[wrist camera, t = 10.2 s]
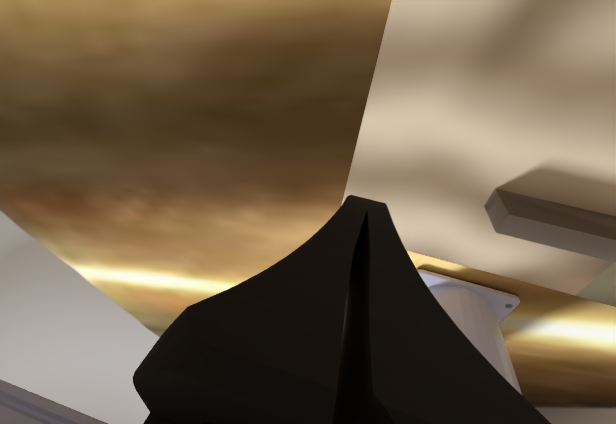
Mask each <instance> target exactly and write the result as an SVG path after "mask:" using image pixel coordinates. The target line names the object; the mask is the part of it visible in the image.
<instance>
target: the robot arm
mask: <svg viewBox="0 0 616 424" xmlns="http://www.w3.org/2000/svg"><path fill="white" fill-rule="evenodd" d="M519 303H520V300H519V298H518V297H517V296H516V295H513V294H509V293H505V292H502V291H498V290H495V289H491V288H487V287H484V286H480V285H477V284H473V283H469V282H466V281H462V280H459V279H455V278H451V277H448V276H444V275H441V274H437V273H433V272H430V271H426V270H422V269H418V270H417V269H416V268H415V266H414V264H413V262H412V261H411V259H410V257H409V255H408V253H407V251H406V249H405V247H404V245H403V243H402V241H401V239H400V237H399V235H398V232H397V230H396V228H395V225H394V223H393V220H392V218H391V215H390V212H389V209H388V207H387V205H386V203H382V202H378V201H374V200H370V199H366V198H362V197H358V196H354V195H349V196H347V197H346V199H345V201H344V203H343V204H342V206H341V207H340V208H339V209H338V211H337V212H336V213H335V214H334V215H333V216H332V218H331V219H330V220H329V221H328V222H327V223H326V224H325V225H324V226H323V227H322V228H321V229H320V230H319V231H318V232H317V233H315V234H314V235H313V236H312V237H311V238H310V239H309V240H308V241H306V242H305V243H304V244H303V245H301V246H300V247H299V248H298V249H296V250H295V251H293V252H292V253H291V254H289V255H288V256H286V257H285V258H283V259H282V260H280V261H279V262H277V263H276V264H274V265H273V266H271V267H269V268H268V269H266V270H264V271H263V272H261V273H259V274H257V275H255V276H253V277H251V278H249V279H248V280H246V281H244V282H242V283H240V284H238V285H236V286H234V287H232V288H230V289H228V290H226V291H223V292H221V293H219V294H216V295H214V296H212V297H209V298H207V299H205V300H202V301H200V302H198V303H196V304H193V305H191V306H188V307H187V308H186V309H185V310H184V311H183V312H182V313H181V314H180V315H179V316H178V318H177V319H176V320H175V321H174V322H173V323H172V324H171V325H170V326H169V327H168V329H167V330H166V331H165V332H164V333H163V334H162V336H161V337H160V338H159V340H158V341H157V343H156V344H155V345H154V346H153V348H152V349H151V351H150V352H149V353H148V355H147V356H146V357H145V359H144V360H143V361H142V363H141V364H140V366H139V367H138V368H137V370H136V371H135V373H134V376H133V383H134V386H135V389H136V391H137V392H138V394H139V395H140V397H141V399H142V400H143V402H144V403H145V405H146V406H147V408H148V409H149V411H150V414H149V416H148V417H147V419H146V420H145V422H144V424H551V423H550V422H549V421H548V420H547V419H546V418H545V417H544V416H543V415H542V414H540V412H539V411H537V410H536V409H535V408H534V407H533V406H532V405H531V404H530V403H529V402H528V401H527V400H526V399H525V398H524V397H523V396H522V394H521V390H520V387H519V384H518V381H517V378H516V375H515V372H514V369H513V365H512V362H511V359H510V356H509V353H508V350H507V347H506V344H505V340H504V337H503V334H502V331H501V328H500V325H499V323H500V322H501V321H502V320H503V319H504V318H505V317H506V316H507V315H509V314H510V313H511V312H512V311H513V310H514V309H515V308H516V307H517V306H518V305H519ZM0 424H107V423H105V422H103V421H100V420H98V419H95V418H92V417H90V416H88V415H85V414H83V413H80V412H78V411H76V410H73V409H71V408H68V407H66V406H64V405H61V404H58V403H56V402H54V401H51V400H49V399H46V398H44V397H42V396H39V395H37V394H34V393H32V392H29V391H27V390H25V389H22V388H20V387H17V386H15V385H12V384H10V383H7V382H5V381H2V380H0Z"/></svg>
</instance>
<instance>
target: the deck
mask: <svg viewBox="0 0 616 424" xmlns="http://www.w3.org/2000/svg"><path fill="white" fill-rule="evenodd" d="M349 195H354V196H358V197H362V198H366V199H370V200H374V201H378V202H382V203H386V205H387V207H388V209H389V212H390V215H391V218H392V220H393V223H394V225H395V228H396V230H397V232H398V235H399V237H400V239H401V241H402V243H403V245H404V247H405V249H406V250H408V251H411V252H415V253H419V254H422V255H426V256H430V257H433V258H437V259H441V260H445V261H448V262H452V263H456V264H459V265H463V266H467V267H471V268H474V269H478V270H482V271H485V272H489V273H493V274H496V275H500V276H504V277H508V278H511V279H515V280H519V281H522V282H526V283H530V284H533V285H537V286H541V287H545V288H548V289H552V290H556V291H559V292H563V293H567V294H570V295H574V296H578V297H582V298H585V299H589V300H593V301H596V302H600V303H604V304H607V305H611V306H615V307H616V0H392V3H391V7H390V11H389V15H388V19H387V23H386V27H385V31H384V35H383V39H382V43H381V47H380V51H379V55H378V60H377V64H376V68H375V72H374V76H373V80H372V84H371V88H370V92H369V96H368V100H367V104H366V108H365V112H364V116H363V120H362V124H361V128H360V132H359V136H358V141H357V145H356V149H355V153H354V157H353V161H352V165H351V169H350V173H349V177H348V181H347V185H346V189H345V193H344V197H343V201H342V204H343V203H344V201H345V199H346V197H347V196H349ZM341 206H342V205H341Z"/></svg>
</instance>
